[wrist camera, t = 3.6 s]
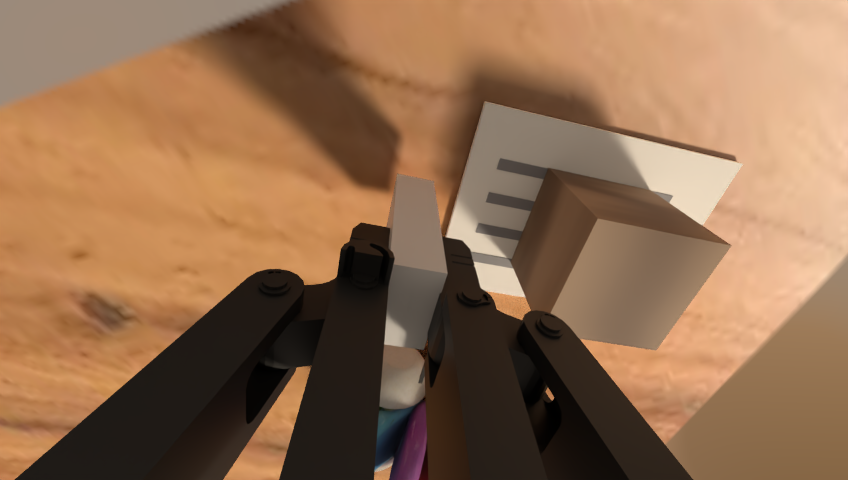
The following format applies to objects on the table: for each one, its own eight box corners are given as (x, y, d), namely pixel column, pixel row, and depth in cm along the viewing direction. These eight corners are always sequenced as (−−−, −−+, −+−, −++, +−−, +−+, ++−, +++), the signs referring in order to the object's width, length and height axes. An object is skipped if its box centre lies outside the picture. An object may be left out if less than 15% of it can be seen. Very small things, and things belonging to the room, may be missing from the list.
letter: (432, 278, 20) (433, 282, 19) (484, 100, 15) (485, 102, 15) (639, 313, 21) (642, 317, 21) (737, 161, 17) (743, 164, 17)
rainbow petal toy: (467, 434, 27) (485, 561, 20) (329, 414, 25) (301, 545, 19) (513, 348, 23) (554, 474, 16) (352, 318, 21) (328, 444, 15)
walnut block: (510, 262, 19) (540, 332, 15) (548, 167, 17) (598, 218, 12) (601, 278, 20) (656, 350, 15) (650, 189, 17) (731, 245, 13)
